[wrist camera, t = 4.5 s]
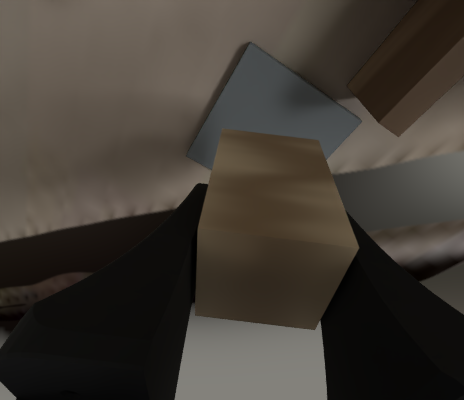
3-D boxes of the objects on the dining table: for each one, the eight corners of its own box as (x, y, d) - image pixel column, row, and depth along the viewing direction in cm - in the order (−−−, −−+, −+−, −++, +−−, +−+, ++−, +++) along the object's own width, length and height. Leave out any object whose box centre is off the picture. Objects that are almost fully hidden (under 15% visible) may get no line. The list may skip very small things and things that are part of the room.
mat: (359, 118, 18) (361, 121, 17) (280, 202, 22) (281, 207, 22) (250, 41, 15) (250, 43, 15) (187, 152, 20) (185, 156, 19)
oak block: (318, 140, 12) (359, 247, 7) (295, 213, 14) (314, 330, 9) (222, 128, 12) (197, 228, 7) (216, 203, 14) (195, 315, 9)
